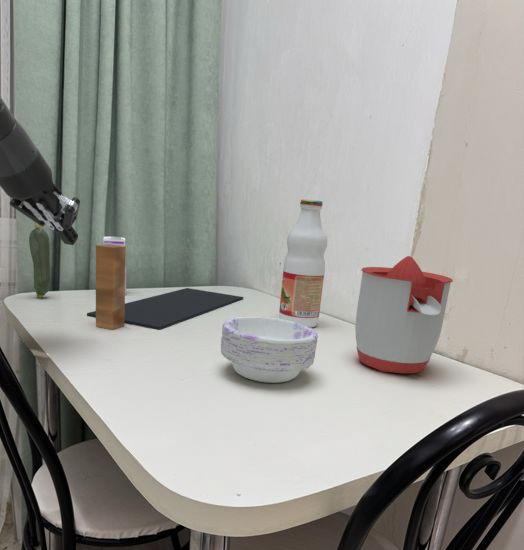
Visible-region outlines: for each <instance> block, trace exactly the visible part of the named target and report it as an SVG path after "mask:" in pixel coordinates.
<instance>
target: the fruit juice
mask: <svg viewBox="0 0 524 550" xmlns="http://www.w3.org/2000/svg"><path fill="white" fill-rule="evenodd" d="M299 207H300V212H299V213H300V214H299V216H298V219H297V221H296V223H295V225H294V227H293V228H292V229H291V230H290V231H289V232H288V235H287V239H286V247H287V255H286V257H285V258H284V263H283V269H282V271H283V272H282V280H281V289H280V301H279V311H278V319H283V320H288V321H292V322H296V323H299V324H302V325H305V326H308V327H310V328H311V329H312V328H316V327H317V326H318V324H319V318H320V311H321V304H322V296H323V287H324V278H325V272H326V260H325V253H326V249H327V247H328V236H327V234H326V232H325V230H324V228H323V224H322V220H321V210H322V209H323V201H322V200H314V199H313V200H312V199H300V201H299Z"/></svg>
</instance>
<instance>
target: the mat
mask: <svg viewBox="0 0 524 550" xmlns="http://www.w3.org/2000/svg"><path fill="white" fill-rule="evenodd" d="M242 300H244V296H239V295H233V294H227V293H221V292H214V291H209V290H204V289H203V290H202V289H196V288H189V287H185V288H181V289H177V290H173V291H169V292H166V293H162V294H161V293H160V294H158V295H157V294H156V295H154V296H150V297H145V298H141V299H137V300H133V301H129V302H125V324H128V325H132V326H139V327H144V328H149V329H155V330H158V331H159V330H163V329H165V328H168V327H171V326H174V325H177V324H180V323H182V322H185V321H187V320H190V319H192V318H196V317H199V316H202V315H203V314H206V313H209V312H212V311H214V310H217V309H220V308H222V307H226V306H228V305H232V304H234V303H237V302H239V301H242ZM86 316H87V317H91V318H96V310H93V311H90V312H86Z"/></svg>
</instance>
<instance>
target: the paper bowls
mask: <svg viewBox="0 0 524 550" xmlns="http://www.w3.org/2000/svg"><path fill="white" fill-rule="evenodd" d="M318 337H319V335H318V332H317V331H316V330H315V329H313V328H312V327H311V328H310V327H308V326H305V325H302V324H299V323H296V322H292V321H288V320H283V319H279V318H275V317H269V316H268V317H266V316H251V315H250V316H236V317H231V318H228V319H226V320H225V321H224V322H223V323H222V329H221V338H220V353H221V355H222V356H223V357H224V358H225V359H227V360H228V361H230V362H231V364H232V367H233V369H234V371H235V372H236V373H237V374H238V375H239V376H241V377H243V378H245V379H248V380H251V381H255V382H259V383H269V384H278V383H284V382H290V381H292V380H294V379H295V378H296V377H298V376H299V374H300V372H301V371H303V370H305V369H306V370H307V369H309V368H310V367H311V366H312V365H314V363H315V358H316V352H317V351H316V350H317V344H318Z"/></svg>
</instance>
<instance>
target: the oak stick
mask: <svg viewBox="0 0 524 550" xmlns="http://www.w3.org/2000/svg"><path fill="white" fill-rule="evenodd" d="M125 251H126V252H127V247H125V246H118V245H111V244H104V245H103V244H95V311H96V317H95V327H97V328H102V329H108V330H117V329H119V328H122V327H125V324H126V323H125V303H126V295H125Z"/></svg>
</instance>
